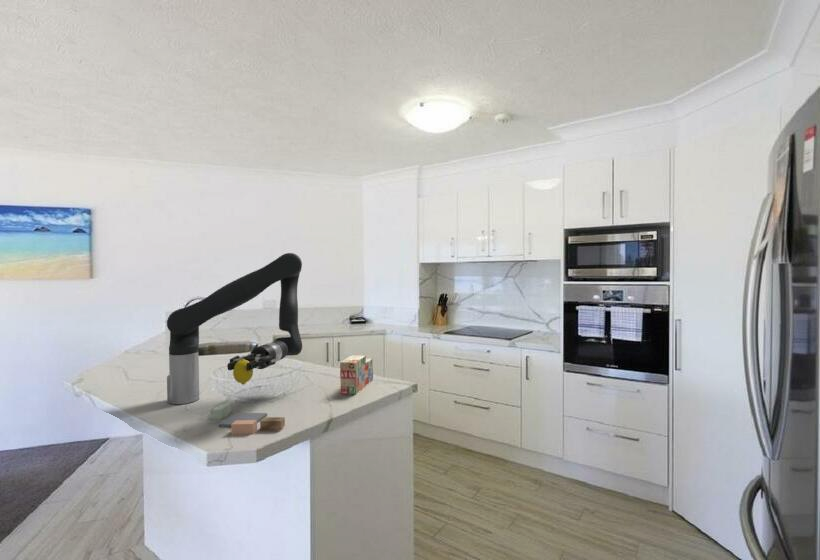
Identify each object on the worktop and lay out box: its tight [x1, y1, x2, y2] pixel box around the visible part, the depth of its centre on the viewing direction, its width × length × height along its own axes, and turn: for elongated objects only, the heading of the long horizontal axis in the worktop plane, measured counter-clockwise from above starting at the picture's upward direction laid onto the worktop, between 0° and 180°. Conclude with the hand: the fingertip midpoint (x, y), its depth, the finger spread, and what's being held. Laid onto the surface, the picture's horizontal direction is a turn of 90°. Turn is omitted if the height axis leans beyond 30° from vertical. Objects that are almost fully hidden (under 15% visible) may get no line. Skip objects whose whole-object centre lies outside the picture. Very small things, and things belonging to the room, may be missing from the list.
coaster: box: [218, 411, 268, 428], centre depth 120 cm, size 10×10×1 cm
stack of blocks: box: [339, 354, 374, 395], centre depth 156 cm, size 21×6×12 cm, turn 168°
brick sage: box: [211, 403, 232, 420], centre depth 125 cm, size 6×3×3 cm, turn 178°
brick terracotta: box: [230, 420, 258, 435], centre depth 111 cm, size 6×3×3 cm, turn 91°
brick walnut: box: [259, 416, 286, 432], centre depth 113 cm, size 6×3×3 cm, turn 89°
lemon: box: [232, 359, 254, 386], centre depth 120 cm, size 6×6×8 cm
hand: (238, 367), depth 117 cm, fingers closed on lemon, 5 cm apart
